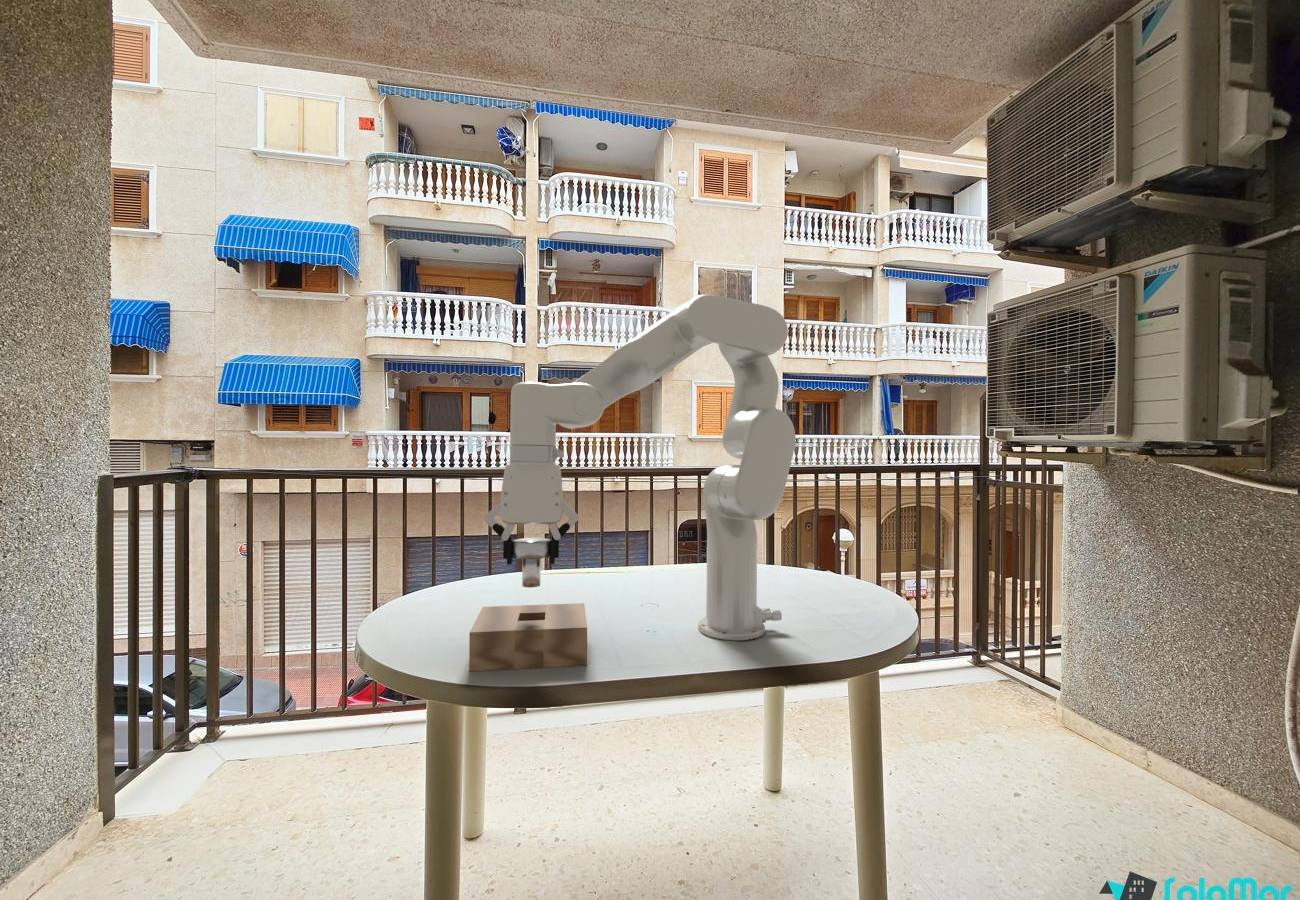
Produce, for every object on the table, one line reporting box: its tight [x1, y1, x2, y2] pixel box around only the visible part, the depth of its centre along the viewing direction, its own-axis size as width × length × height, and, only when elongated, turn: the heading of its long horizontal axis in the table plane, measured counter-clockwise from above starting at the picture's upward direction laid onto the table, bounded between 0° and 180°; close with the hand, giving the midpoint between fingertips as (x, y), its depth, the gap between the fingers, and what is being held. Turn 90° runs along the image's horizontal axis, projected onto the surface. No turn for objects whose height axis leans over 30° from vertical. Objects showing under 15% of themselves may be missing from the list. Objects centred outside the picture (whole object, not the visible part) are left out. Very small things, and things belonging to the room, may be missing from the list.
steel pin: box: [512, 537, 551, 589], centre depth 93 cm, size 6×6×8 cm
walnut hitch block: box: [468, 602, 588, 672], centre depth 93 cm, size 18×14×6 cm
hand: (531, 561), depth 93 cm, fingers closed on steel pin, 6 cm apart
